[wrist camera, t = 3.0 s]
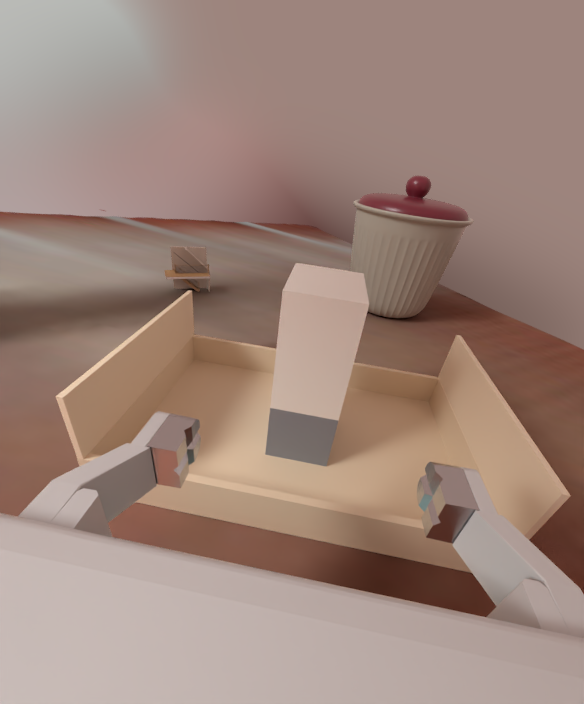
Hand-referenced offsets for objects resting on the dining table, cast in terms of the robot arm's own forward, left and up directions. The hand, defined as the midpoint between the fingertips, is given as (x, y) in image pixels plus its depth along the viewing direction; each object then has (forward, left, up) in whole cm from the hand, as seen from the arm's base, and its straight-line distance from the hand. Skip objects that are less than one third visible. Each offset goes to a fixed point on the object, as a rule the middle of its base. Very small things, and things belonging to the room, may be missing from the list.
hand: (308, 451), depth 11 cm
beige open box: (-8, +10, -12) cm, 17 cm away
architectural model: (-43, +19, -13) cm, 48 cm away
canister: (-21, +45, -12) cm, 51 cm away
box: (-8, +10, -12) cm, 17 cm away
